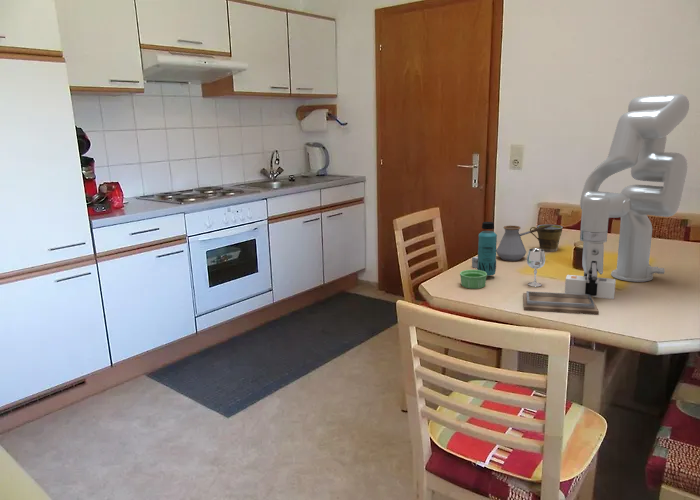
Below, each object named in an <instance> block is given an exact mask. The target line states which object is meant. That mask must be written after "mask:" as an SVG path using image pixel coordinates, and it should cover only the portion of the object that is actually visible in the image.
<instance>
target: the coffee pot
mask: <svg viewBox="0 0 700 500" xmlns="http://www.w3.org/2000/svg"><path fill="white" fill-rule="evenodd" d="M544 225H545V224H544ZM552 225H553V224H551V225H548V226H546V225H545V227H539V228H537V227H536V229H534V228H533V229H531V231H530V230H529V231H525V232H522V233H520V229H521V226H519V225H504V226H503V229H504V234H503V236H502V238H501V240H500V241H499V244H498V246H497V247H496V249H497V250H496V256H497V255H498V256H497V257H500V260H503V261H511V262H516V261H521V260H522V258H524V257H526V254H527V251H526V248H525V245H524V243H523V240H522V238H521V237H522V236H524V235H525V236H526V235H528V234H531V233H536V232H537V231H540V230H543V229H545V228H546V229H547V227H551V226H552ZM552 227H553V226H552ZM552 227H551V229H552ZM552 230H553V229H552Z"/></svg>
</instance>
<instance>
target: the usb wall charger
mask: <svg viewBox="0 0 700 500" xmlns="http://www.w3.org/2000/svg"><path fill="white" fill-rule="evenodd" d="M477 258H478V257H477V256H473V257H472V258H471V267H472V268H474V269H476V270H478V268H477V267H478V264H477Z"/></svg>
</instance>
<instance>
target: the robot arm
mask: <svg viewBox="0 0 700 500" xmlns="http://www.w3.org/2000/svg"><path fill="white" fill-rule="evenodd" d="M689 101H690V100H689V99H688V97H687V96H686V95H684V94H682V93H681V94H680V93H671V94H670V93H669V94H652V95H651V94H650V95H649V94H648V95H641V96H637V97H635V98H632V99H631V100H630V101H629V103H628V109H627V112H624V113H622V115H621V116H620V117H619V119H618V120H617V124H616V127H615V131H614V134H613V138H612V141H611V145H610V147H609V150H608V151H609V152H608V154H607V156H606V159H605V160H604V161H603V162H601V163H600V164H598V166H596V167H595V169H594V170H593V171H592V172H591V173H590V174H589V175H588V177H587V179H586V180H585V182H584V185H583V189H582V192H581V195H580V201H579V206H580V210H581V218H580V220H581V221H580V233H579V241H581V242H582V245H583V246H582V257H581V258H582V261H581V262H582V264H581V265H582V269H583V276H587V282H586V288H585V294H590V295H591V296H596V295H597V277H598V274H599V275H603V274H604V257H605V255H604V250H605V249H604V248H605V247H604V244H605V243H607V241H608V229H609V220H610V219H611V218H613V219H615V218H620V226H619V237H618V250H617V251H618V252H617V259H616V263H617V264H616V268H615V269H613V270H612V271H611V272H610V275H611V276H612V277H613V279H617V280H621V281H626V282H635V283H639V282H640V283H641V282H643V283H644V282H649V281H651V280H653V278H654V274H660V275H664V274H665V267H659V266H651V265H650V255H651V245H652V235H653V226H652V222H651V219H650V218H649V216H655V217H665V218H666V217H667V218H668V217H672V216H674V215H676V213H677V212H678V210H679V208H680V205H681V201H682V200H681V199H682V197H683V196H682V195H683V192H684V186H685V182H686V179H687V173H688V162H687V161H688V160H687V158H686V156H685V155H684V154H682V153H679V152H668V151H666V152H665V149H666V143H667V136H668V135H670V134H671V133H672V131H674V129H676V127H678V126H679V125H680V124H681V122H683V121H684V119H685V118H686V116H687V115H688V113H689V110H690V102H689ZM627 169H630V175H631V177H632V179H634V180H637V181H642V182H654V183H655V182H656V183H663V186H661V185H659V186H658V185H652V184H651V185H649V184H647V185H646V184H630V185H627V186H625V187H624V188H623V189H622V190H621V191H620V193H619V192H609V191H599V188H600V186H602V183H603V182H604V181H605V180H606V179H608V178H609V177H611V176H612V175H615V174H617V173H620V172H622V171H625V170H627ZM589 277H590V278H589Z"/></svg>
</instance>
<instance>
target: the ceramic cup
mask: <svg viewBox="0 0 700 500" xmlns="http://www.w3.org/2000/svg"><path fill="white" fill-rule="evenodd" d="M545 225H546V226H548V225H552V226H553V227H552V226H551V227H552V229H553V230H552V229H551V227H547V229H546V228H545V229H543V230H540V231H536V232H537V236H536V234H535V233H534V232H532V233H530V234H531V235H532V236H534V237H535V238H536V239H537V241H538V243H539V249H543V250H544V252H547V253H553V252H557V251H558V249H559V243H560V239H561V237H562V234H563V233H562V232H563V228H564V227H563V226H562V225H558V224H551V223H549V224H546V223H545V224H539V225H537V226H536V227H535V226H532V227H530V229H529V231H531V230H534V229H536V228H539V227H545Z"/></svg>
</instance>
